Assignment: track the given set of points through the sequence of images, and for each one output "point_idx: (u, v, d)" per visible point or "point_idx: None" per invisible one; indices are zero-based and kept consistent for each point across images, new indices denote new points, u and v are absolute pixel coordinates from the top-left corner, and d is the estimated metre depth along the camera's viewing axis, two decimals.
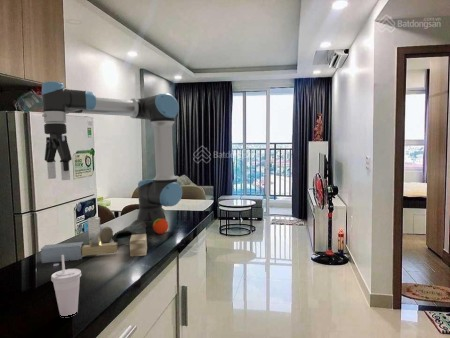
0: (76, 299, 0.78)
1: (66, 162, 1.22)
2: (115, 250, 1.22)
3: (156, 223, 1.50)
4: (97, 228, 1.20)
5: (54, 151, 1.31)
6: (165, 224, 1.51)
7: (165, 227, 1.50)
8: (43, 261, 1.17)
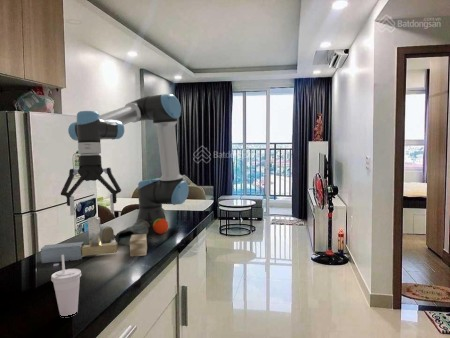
0: (76, 299, 0.78)
1: None
2: (115, 250, 1.22)
3: (156, 223, 1.50)
4: (97, 228, 1.20)
5: (79, 184, 1.20)
6: (165, 224, 1.51)
7: (165, 227, 1.50)
8: (43, 261, 1.17)
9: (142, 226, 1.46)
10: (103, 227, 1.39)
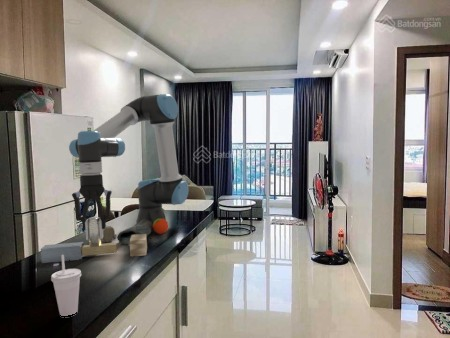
0: (76, 299, 0.78)
1: (105, 220, 1.22)
2: (115, 250, 1.22)
3: (156, 223, 1.50)
4: (97, 228, 1.20)
5: (88, 205, 1.21)
6: (165, 224, 1.51)
7: (165, 227, 1.50)
8: (43, 261, 1.17)
9: (145, 226, 1.46)
10: None
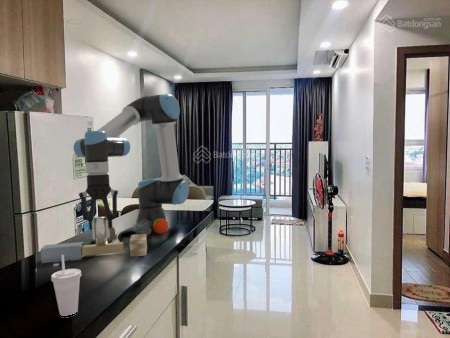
0: (76, 299, 0.78)
1: (111, 219, 1.23)
2: (121, 249, 1.23)
3: (156, 223, 1.50)
4: (103, 227, 1.21)
5: None
6: (165, 224, 1.51)
7: (165, 227, 1.50)
8: (43, 261, 1.17)
9: (145, 226, 1.46)
10: None
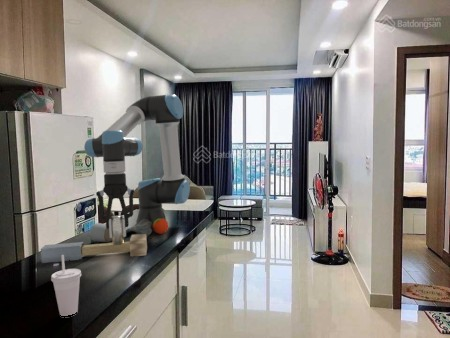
0: (76, 299, 0.78)
1: None
2: None
3: (156, 223, 1.50)
4: (120, 226, 1.22)
5: (111, 204, 1.23)
6: (165, 224, 1.51)
7: (165, 227, 1.51)
8: (43, 261, 1.17)
9: (145, 226, 1.46)
10: (105, 226, 1.40)
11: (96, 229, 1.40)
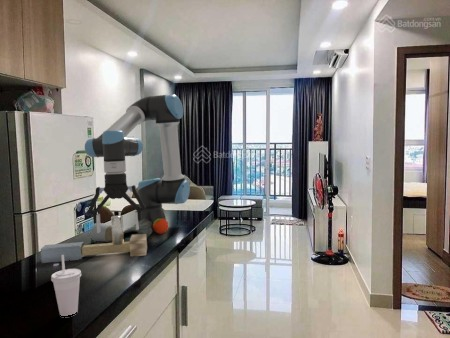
0: (76, 299, 0.78)
1: (141, 211, 1.25)
2: None
3: (156, 223, 1.50)
4: (120, 226, 1.22)
5: (105, 202, 1.23)
6: (165, 224, 1.51)
7: (165, 227, 1.51)
8: (43, 261, 1.17)
9: (146, 226, 1.46)
10: (106, 226, 1.40)
11: None
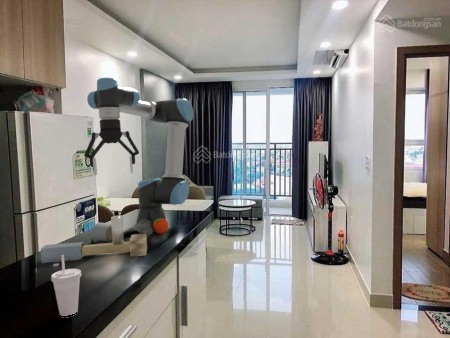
0: (76, 299, 0.78)
1: None
2: None
3: (156, 223, 1.50)
4: (120, 226, 1.22)
5: None
6: (165, 224, 1.51)
7: (165, 227, 1.51)
8: (43, 261, 1.17)
9: (146, 226, 1.47)
10: (107, 226, 1.41)
11: (98, 228, 1.41)
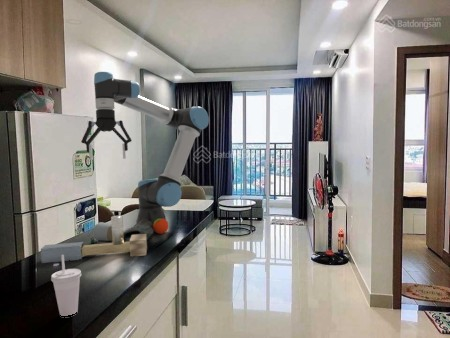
0: (76, 299, 0.78)
1: (127, 143, 1.46)
2: None
3: (156, 223, 1.50)
4: (120, 226, 1.22)
5: (97, 134, 1.44)
6: (165, 224, 1.51)
7: (165, 227, 1.51)
8: (43, 261, 1.17)
9: (146, 226, 1.47)
10: (108, 225, 1.41)
11: (99, 228, 1.41)
